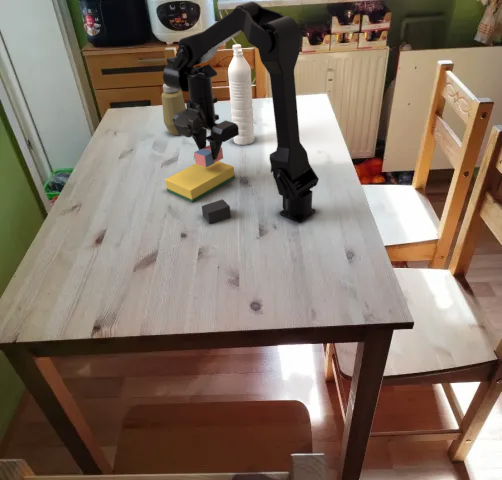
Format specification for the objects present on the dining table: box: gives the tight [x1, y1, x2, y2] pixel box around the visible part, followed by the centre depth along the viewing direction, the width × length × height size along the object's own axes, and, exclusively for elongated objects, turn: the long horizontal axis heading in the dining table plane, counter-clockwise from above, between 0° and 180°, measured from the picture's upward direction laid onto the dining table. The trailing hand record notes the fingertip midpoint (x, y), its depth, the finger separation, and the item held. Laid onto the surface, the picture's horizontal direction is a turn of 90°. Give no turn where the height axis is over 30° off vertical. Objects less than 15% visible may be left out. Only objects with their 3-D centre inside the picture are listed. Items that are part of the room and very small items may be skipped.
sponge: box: [164, 160, 236, 203], centre depth 125 cm, size 16×10×3 cm, turn 138°
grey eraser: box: [201, 199, 232, 225], centre depth 113 cm, size 6×4×3 cm
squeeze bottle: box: [161, 83, 187, 136], centre depth 145 cm, size 8×8×18 cm
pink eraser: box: [193, 144, 224, 167], centre depth 123 cm, size 6×4×3 cm, turn 138°
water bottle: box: [227, 43, 255, 146], centre depth 135 cm, size 9×6×25 cm
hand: (209, 157), depth 123 cm, fingers closed on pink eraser, 4 cm apart
